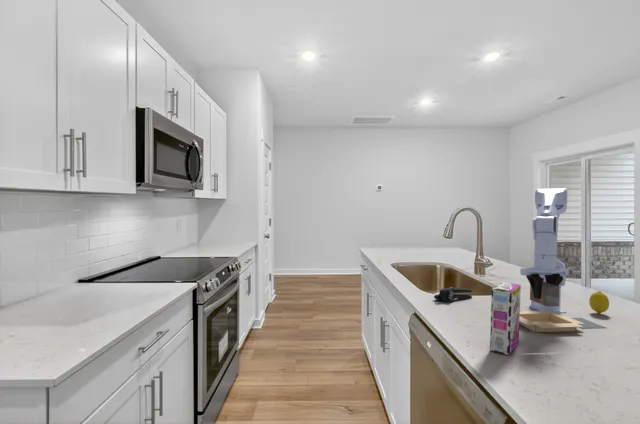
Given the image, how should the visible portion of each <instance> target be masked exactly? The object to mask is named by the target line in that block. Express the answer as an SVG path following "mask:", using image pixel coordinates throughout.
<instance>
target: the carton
mask: <svg viewBox="0 0 640 424" xmlns="http://www.w3.org/2000/svg"><path fill="white" fill-rule="evenodd" d="M572 318H573V317H569V316H567V315H564V314H563V313H550V312H547V311H539V310H520V318H519V325H521V326H523V327H525V328H526V329H528V330H530V331H533V332H534V333H558V332H561V333H562V332H577V331H578V330H577V329H578V328H579V327H583V326H581V325H579V324H584V323H582V322H579V321H577V320H574V319H572Z"/></svg>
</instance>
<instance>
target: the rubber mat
mask: <svg viewBox="0 0 640 424" xmlns="http://www.w3.org/2000/svg"><path fill="white" fill-rule="evenodd" d="M571 318H572V319H574V320H577V321H579V322H582V323H584V324H579V325H581V326H583V327H578V328H579V329H607V327H606V326H604V325H600V324H598V323H595V322H593V321H591V320H588V319H586V318H583V317H571Z"/></svg>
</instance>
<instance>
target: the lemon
mask: <svg viewBox="0 0 640 424" xmlns="http://www.w3.org/2000/svg"><path fill="white" fill-rule="evenodd" d="M588 301H589V302H588V303H589V306H590V308H591V310H593V311H594V312H595V313H596V314H598V315H601V314H602V313H605V312H606V311H608V310H609V309H610V308H609V307H610V300H609V298H608V295H606V294H605V293H603V292H602V291H601V290H600V291H596V292H592V293H591V295H590V297H589V300H588Z"/></svg>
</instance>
